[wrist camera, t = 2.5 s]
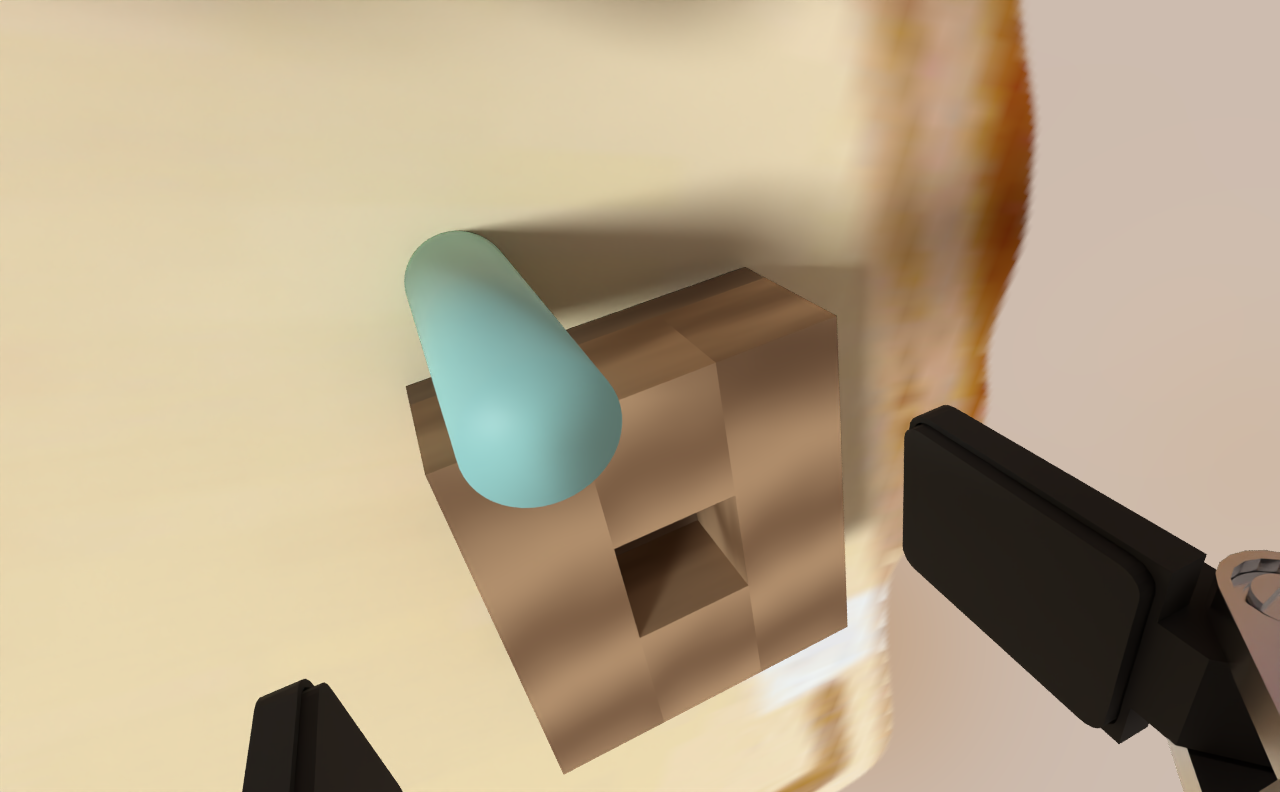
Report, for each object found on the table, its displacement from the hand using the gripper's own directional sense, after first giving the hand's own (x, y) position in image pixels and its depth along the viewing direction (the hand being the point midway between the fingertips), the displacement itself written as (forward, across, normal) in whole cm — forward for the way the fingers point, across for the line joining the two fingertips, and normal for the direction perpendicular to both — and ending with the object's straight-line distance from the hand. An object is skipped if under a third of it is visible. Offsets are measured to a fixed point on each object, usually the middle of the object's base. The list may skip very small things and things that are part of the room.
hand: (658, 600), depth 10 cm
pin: (+16, +1, -1) cm, 16 cm away
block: (+16, -3, +10) cm, 20 cm away
